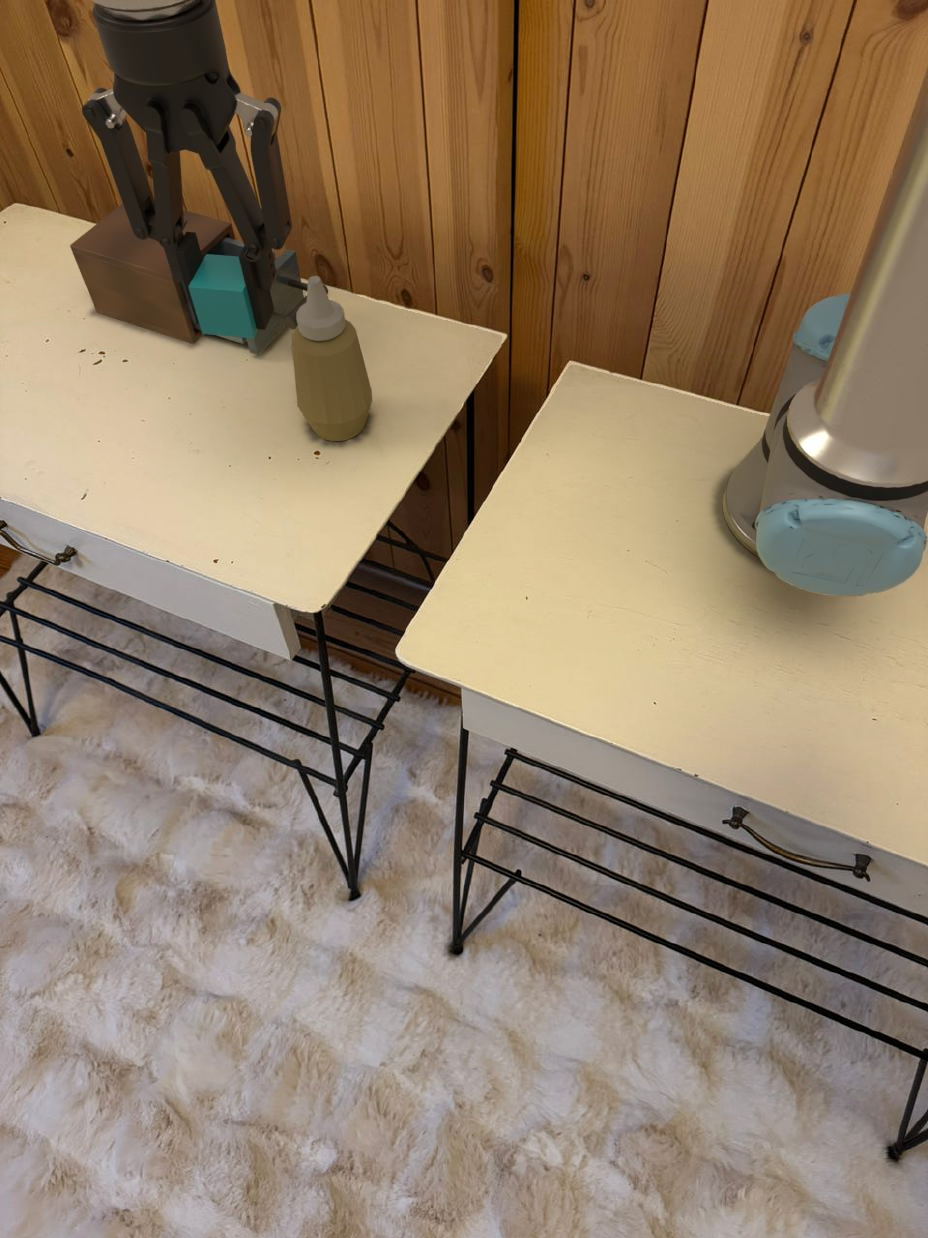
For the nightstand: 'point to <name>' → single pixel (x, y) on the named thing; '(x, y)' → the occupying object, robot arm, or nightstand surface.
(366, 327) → the nightstand surface
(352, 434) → the squeeze bottle
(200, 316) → the teal rectangular block
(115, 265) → the drawer cabinet
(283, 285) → the grey drawer
